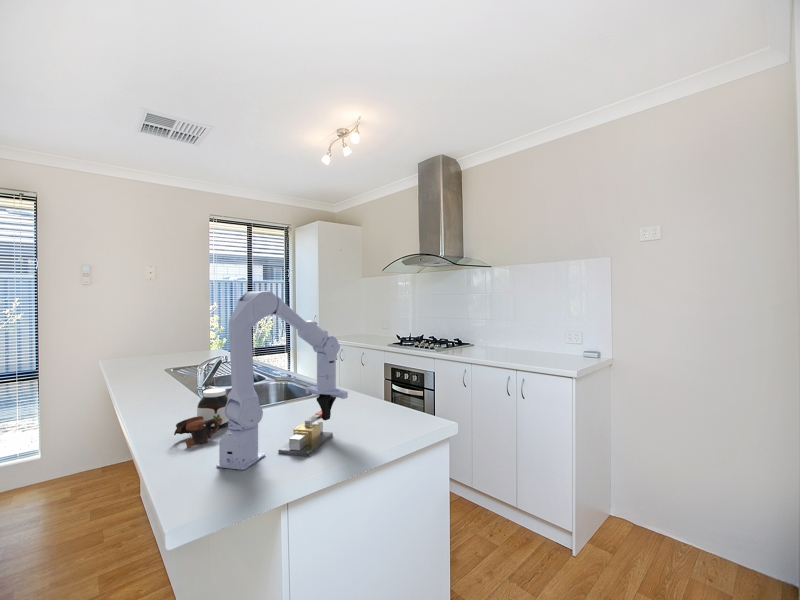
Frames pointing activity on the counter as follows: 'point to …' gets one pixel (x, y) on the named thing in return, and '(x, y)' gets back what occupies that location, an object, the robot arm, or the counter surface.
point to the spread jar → (213, 406)
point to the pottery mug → (197, 430)
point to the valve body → (306, 440)
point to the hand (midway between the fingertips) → (326, 419)
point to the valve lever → (313, 419)
